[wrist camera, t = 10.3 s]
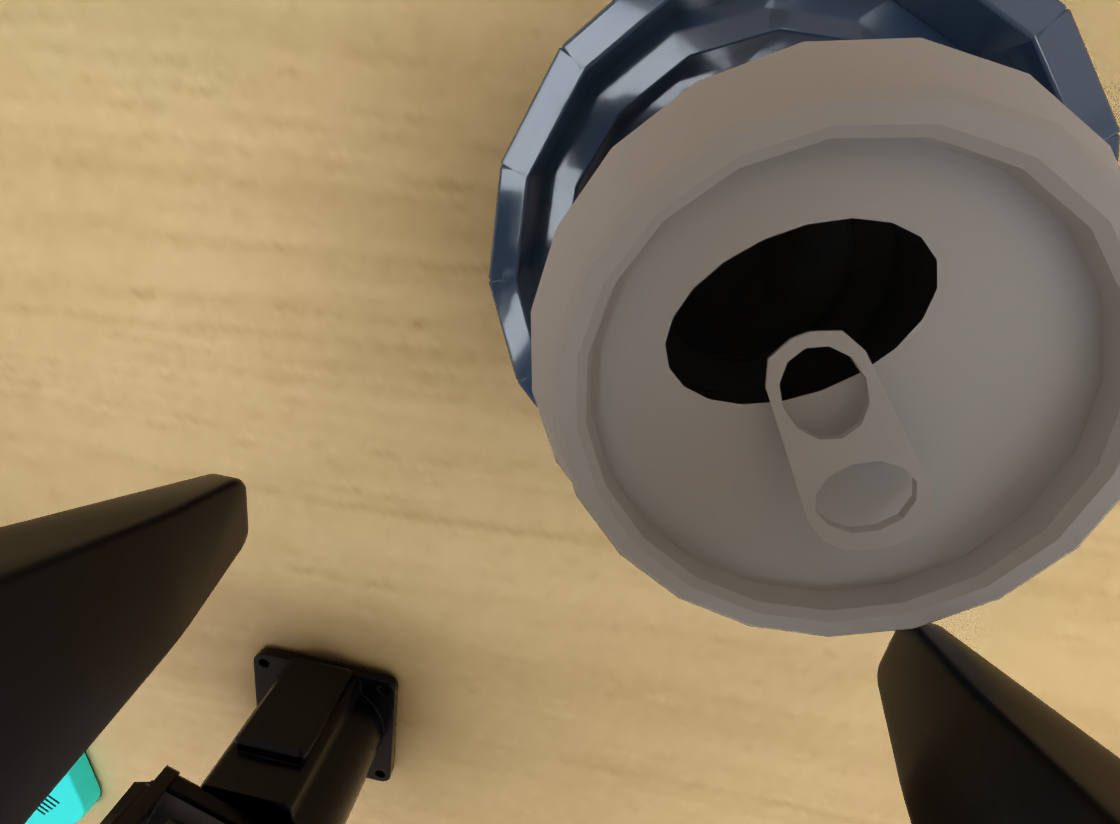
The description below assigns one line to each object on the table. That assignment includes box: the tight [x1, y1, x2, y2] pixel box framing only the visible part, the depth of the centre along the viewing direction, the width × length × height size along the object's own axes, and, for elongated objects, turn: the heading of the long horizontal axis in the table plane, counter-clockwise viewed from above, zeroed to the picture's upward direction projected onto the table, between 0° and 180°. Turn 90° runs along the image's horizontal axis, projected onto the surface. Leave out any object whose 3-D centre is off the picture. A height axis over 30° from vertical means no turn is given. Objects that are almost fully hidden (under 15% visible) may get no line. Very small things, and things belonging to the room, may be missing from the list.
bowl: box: [489, 0, 1120, 408], centre depth 16 cm, size 13×13×5 cm
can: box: [531, 38, 1120, 637], centre depth 12 cm, size 8×8×12 cm
